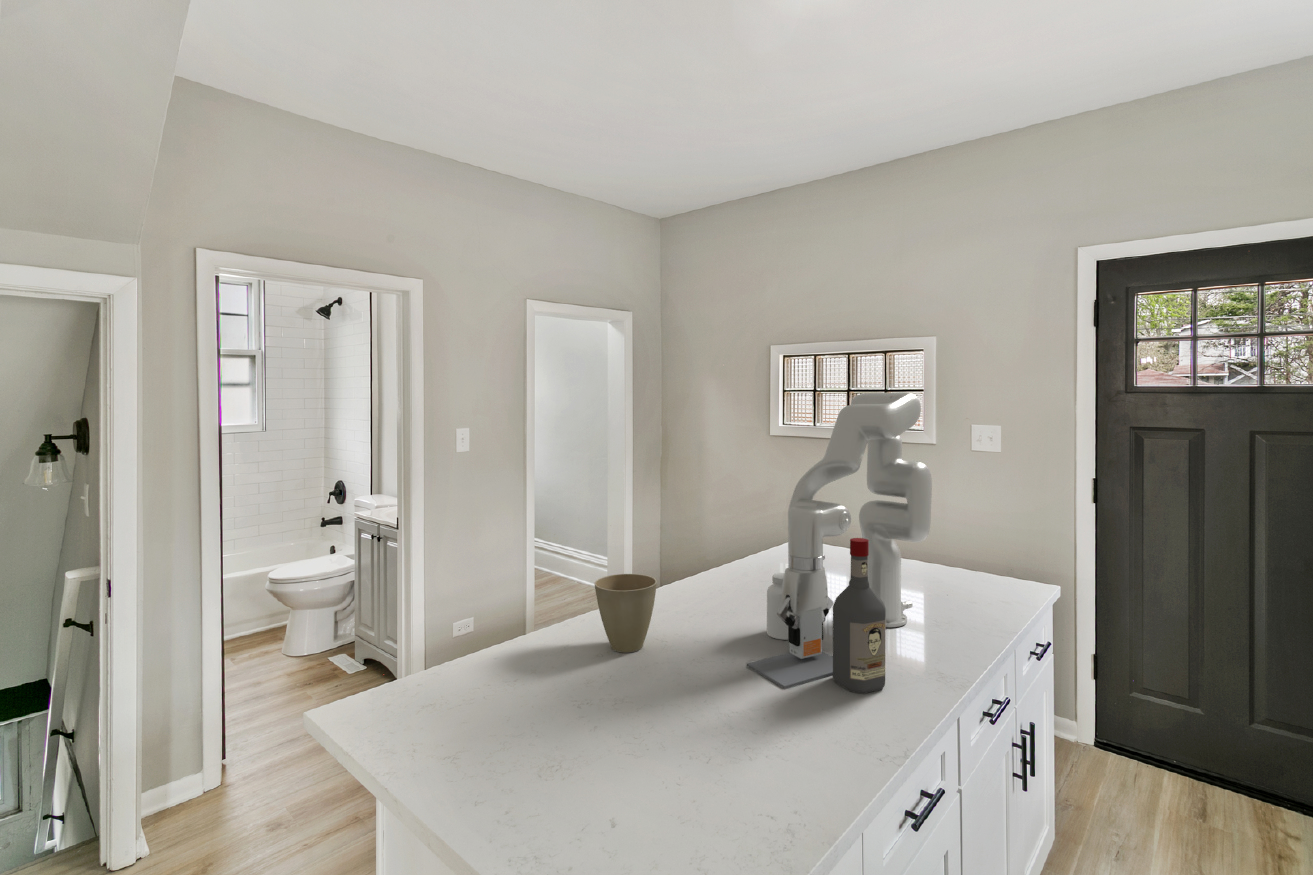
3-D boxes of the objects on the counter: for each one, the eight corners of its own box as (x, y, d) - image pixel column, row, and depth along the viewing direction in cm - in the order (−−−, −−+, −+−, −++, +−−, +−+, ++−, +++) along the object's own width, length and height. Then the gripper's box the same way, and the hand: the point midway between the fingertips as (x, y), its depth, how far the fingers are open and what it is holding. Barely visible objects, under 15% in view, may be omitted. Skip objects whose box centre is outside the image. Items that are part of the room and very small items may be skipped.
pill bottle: (799, 641, 155) (799, 580, 154) (766, 639, 157) (765, 579, 156) (799, 629, 163) (799, 571, 162) (767, 628, 164) (766, 570, 163)
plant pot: (670, 645, 154) (669, 580, 153) (626, 664, 143) (625, 595, 142) (627, 630, 164) (626, 569, 163) (582, 647, 153) (581, 582, 152)
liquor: (826, 678, 135) (826, 537, 133) (861, 670, 138) (861, 533, 136) (856, 696, 126) (856, 546, 124) (892, 687, 130) (893, 541, 128)
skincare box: (801, 660, 140) (801, 606, 140) (789, 653, 144) (788, 601, 143) (823, 654, 143) (822, 601, 142) (810, 647, 147) (809, 596, 146)
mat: (812, 648, 150) (812, 646, 150) (853, 668, 139) (853, 666, 139) (746, 665, 142) (746, 663, 141) (784, 688, 130) (784, 686, 130)
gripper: (822, 553, 150) (823, 628, 151) (764, 564, 142) (764, 643, 143) (846, 560, 143) (846, 639, 144) (786, 571, 135) (786, 655, 136)
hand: (805, 640), depth 144 cm, fingers closed on skincare box, 6 cm apart
